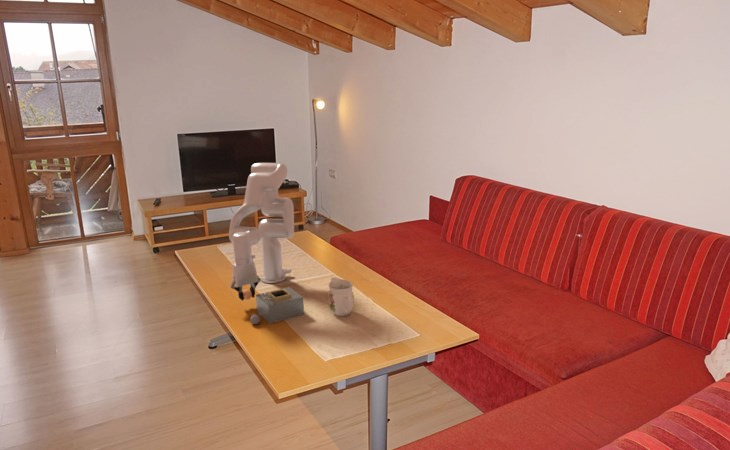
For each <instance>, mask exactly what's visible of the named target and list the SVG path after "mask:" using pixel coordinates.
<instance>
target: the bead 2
mask: <svg viewBox="0 0 730 450" xmlns="http://www.w3.org/2000/svg"><path fill="white" fill-rule="evenodd" d="M260 321H261V317H260V315H258V314H253V315H251V317H250V321H249V322H250V323H251V324H253V325H258V324H259V323H260Z"/></svg>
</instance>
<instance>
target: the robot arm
mask: <svg viewBox="0 0 730 450" xmlns="http://www.w3.org/2000/svg"><path fill="white" fill-rule="evenodd" d="M287 176H288V169H287V165H286V164H284V163H281V162H256V163H253V164H252V165H251V167H250V174H249V175H248V177H247V180H246V181H247V182H246V188H245V192H244V199H243V200H244V201H243V204H241V206H239V207H238V209H237V210H236V211H235V213H234V214H233V216H232V217H231V220H230V223H229V230H228V238H229V240H230V242H231V243H232V246H233V247H232V248H233V254H234V255H233V258H234V263H233V264H232V281H231V283H230V285H229V287H230V288H231V289H232V290H234V291H237V293H238V298H239V299H240V300H241V301H242V302H243V301H244V300H245V299H244V297H243V286H248V285H250V287H249V290H250V291H251V292H252V297H251V298H253V299H254V298H255V296H256V289H257V286H258V285H259V284H260V282H263V283H265V284H276V283H277V284H278V283H281V282H284V281H285V280H286V279H287V276H286V275H287V274H291V273H292V271H293V270H292V268H283V259H282V258H283V257H282V245H281V242H280V241H279V239H291V238H292V237H294V233H295V213H294V212H295V206H294V203H293V200H292V199H291V198H290V197H286V196H284V197H282V196H279V189H280V187H281V186H282V184H283V183H284V182H285V180H286V179H287ZM257 211H261V213H262V214H263V216H266V217H282V218H263V219H261V220H260V221H259V222H258V227H253V226H240V224H241V222H242V220H243V219H244V218H245V217H246V216H249V215H250V214H252V213H255V212H257ZM259 242H261V253H262V271H263V275H261V277H260V276H258V274H257V268H256V264H255V262H254V259H256V255H255V254H254V255H253V254H252V252H253V251H252V246H254V245H257V244H258V243H259Z"/></svg>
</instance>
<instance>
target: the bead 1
mask: <svg viewBox="0 0 730 450" xmlns="http://www.w3.org/2000/svg"><path fill="white" fill-rule="evenodd" d="M242 292H243V297H244V300H250V299H251V298H253V297H252V292H251V291H250V289H244V290H242Z"/></svg>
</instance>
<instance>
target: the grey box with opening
mask: <svg viewBox="0 0 730 450" xmlns="http://www.w3.org/2000/svg"><path fill="white" fill-rule="evenodd" d="M255 302H256V303H255V304H256V312H257V313H258V314H259V316H261V317H262V318H264V320H265V321H266V322H267V323H268V324H272V323H276V322H280V321H284V320H286V319H287V320H288V319H291V318H296V317H298V316H302V315H305V307H304V306H305V305H304V302H305V301H304V296H303V295H301V294H300V293H299V292H297V291H296V290H294V289H293V288H291V287H290V286H288V287H283V288H280V289H279V288H278V289H274V290H271V291H266V292H263V293H257V294H255Z"/></svg>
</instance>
